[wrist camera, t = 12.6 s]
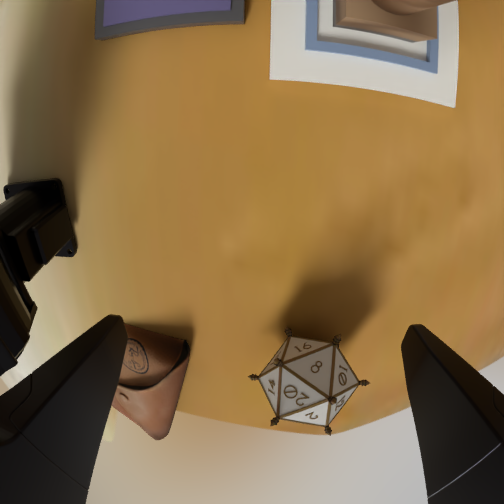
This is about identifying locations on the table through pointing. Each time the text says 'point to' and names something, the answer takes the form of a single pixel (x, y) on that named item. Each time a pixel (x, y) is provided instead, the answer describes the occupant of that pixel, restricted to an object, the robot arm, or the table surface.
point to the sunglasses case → (151, 379)
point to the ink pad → (162, 15)
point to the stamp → (389, 17)
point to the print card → (363, 53)
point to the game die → (308, 381)
